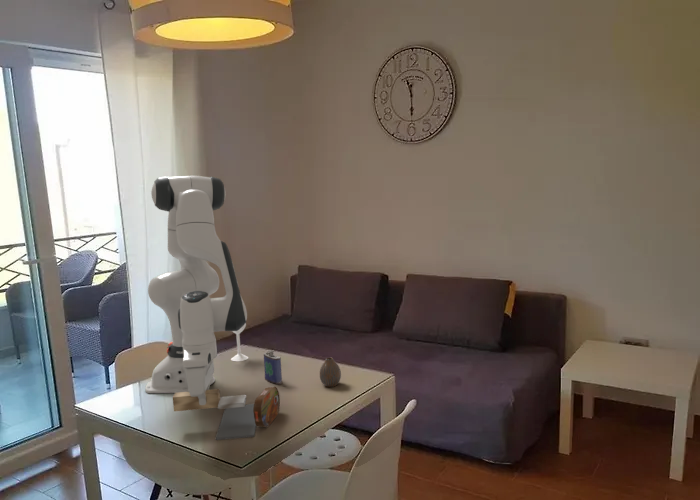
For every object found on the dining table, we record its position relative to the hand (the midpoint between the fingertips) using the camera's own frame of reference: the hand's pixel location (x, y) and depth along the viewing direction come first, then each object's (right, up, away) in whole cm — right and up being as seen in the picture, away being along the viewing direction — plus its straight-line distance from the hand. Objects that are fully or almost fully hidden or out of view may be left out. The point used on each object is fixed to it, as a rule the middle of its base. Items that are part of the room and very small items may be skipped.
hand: (204, 400), depth 162 cm
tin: (+17, -7, +3) cm, 18 cm away
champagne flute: (-2, 0, +64) cm, 64 cm away
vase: (+34, -3, +29) cm, 45 cm away
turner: (+2, -1, 0) cm, 2 cm away
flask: (+14, -3, +36) cm, 39 cm away
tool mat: (+9, -7, +4) cm, 12 cm away
